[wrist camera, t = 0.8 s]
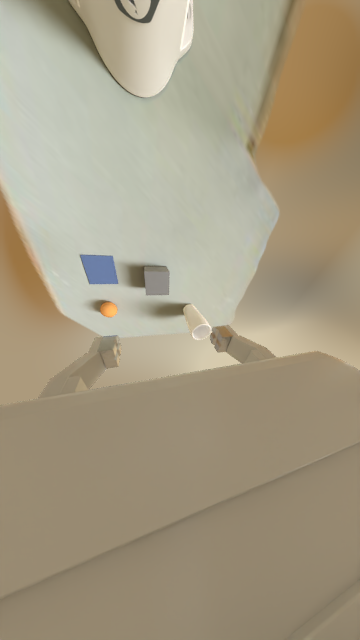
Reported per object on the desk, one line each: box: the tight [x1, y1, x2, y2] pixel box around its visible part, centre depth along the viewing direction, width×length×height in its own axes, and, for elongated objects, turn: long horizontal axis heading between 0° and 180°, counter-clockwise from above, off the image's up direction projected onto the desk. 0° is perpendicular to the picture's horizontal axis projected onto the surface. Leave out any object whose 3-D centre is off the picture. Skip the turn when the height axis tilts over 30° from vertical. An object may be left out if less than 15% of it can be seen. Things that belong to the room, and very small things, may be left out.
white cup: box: [183, 304, 211, 340], centre depth 47 cm, size 7×7×15 cm
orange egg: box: [100, 302, 117, 317], centre depth 43 cm, size 5×5×5 cm
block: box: [144, 266, 169, 295], centre depth 40 cm, size 7×7×6 cm
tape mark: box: [80, 255, 118, 284], centre depth 38 cm, size 8×8×1 cm
